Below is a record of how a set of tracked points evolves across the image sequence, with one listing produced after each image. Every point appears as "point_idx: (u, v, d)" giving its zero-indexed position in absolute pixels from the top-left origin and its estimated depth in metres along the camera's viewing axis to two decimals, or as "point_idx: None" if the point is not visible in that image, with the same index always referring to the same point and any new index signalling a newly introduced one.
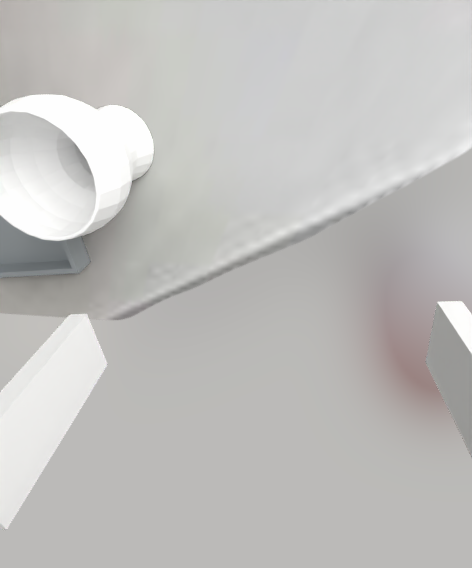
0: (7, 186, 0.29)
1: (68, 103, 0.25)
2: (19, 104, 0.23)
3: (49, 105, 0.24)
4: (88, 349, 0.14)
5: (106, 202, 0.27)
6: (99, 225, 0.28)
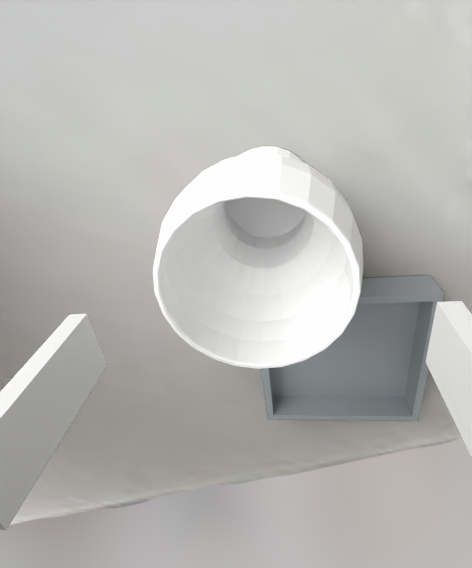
0: (277, 336, 0.21)
1: (163, 221, 0.18)
2: None
3: None
4: (88, 349, 0.14)
5: (300, 188, 0.14)
6: (346, 216, 0.15)
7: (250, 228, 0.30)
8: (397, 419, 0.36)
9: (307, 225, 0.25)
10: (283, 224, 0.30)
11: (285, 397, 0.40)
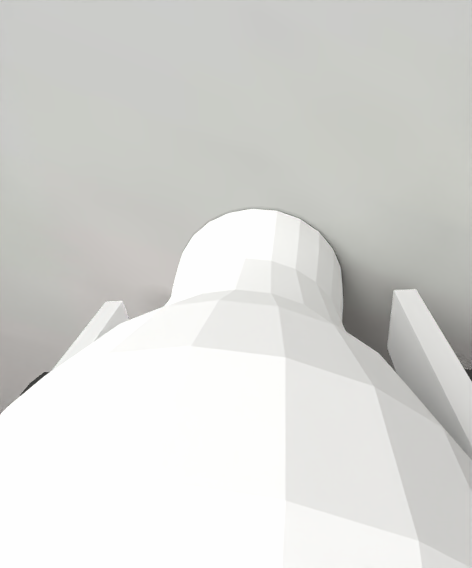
0: None
1: None
2: None
3: None
4: None
5: None
6: None
7: None
8: None
9: None
10: None
11: None
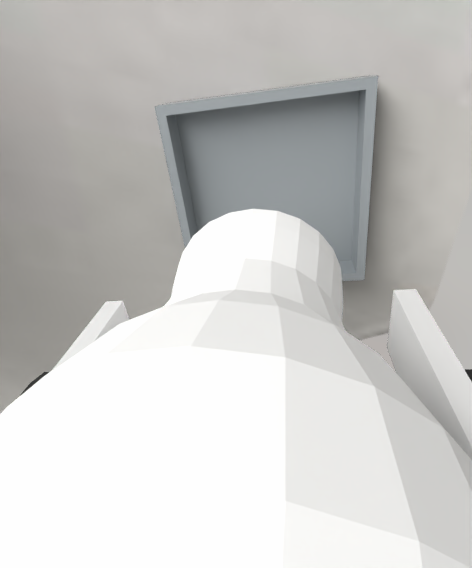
0: None
1: None
2: None
3: None
4: None
5: None
6: None
7: None
8: None
9: None
10: None
11: None
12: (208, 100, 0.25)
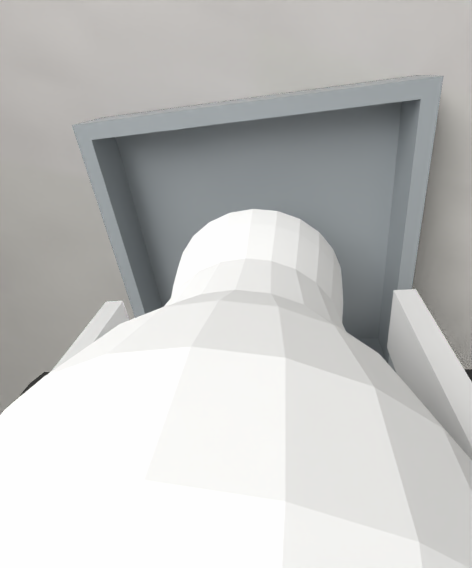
0: None
1: None
2: None
3: None
4: None
5: None
6: None
7: None
8: None
9: None
10: None
11: None
12: (157, 116, 0.15)
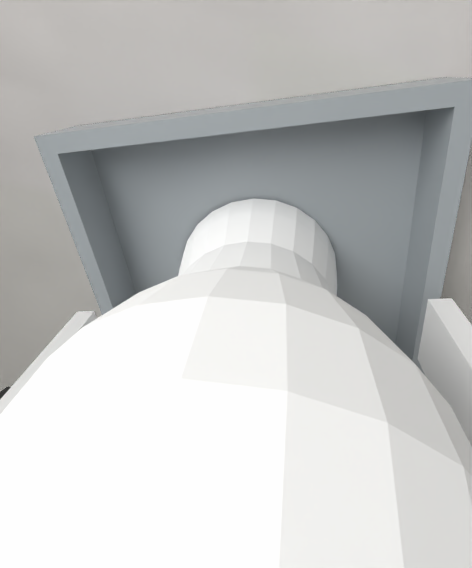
0: None
1: None
2: None
3: None
4: None
5: None
6: None
7: None
8: None
9: None
10: None
11: None
12: (134, 126, 0.13)
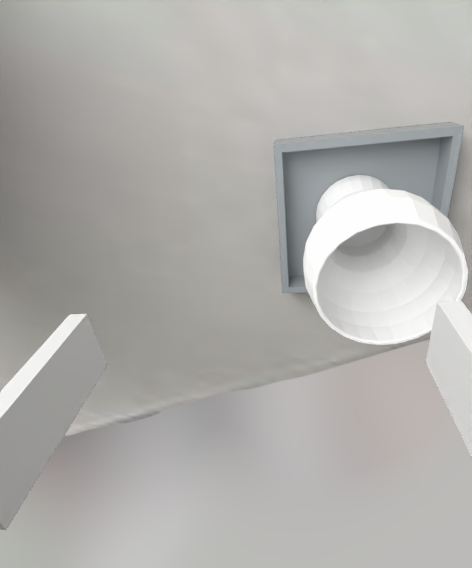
0: (383, 323, 0.28)
1: (314, 235, 0.25)
2: (310, 278, 0.24)
3: (314, 252, 0.24)
4: (88, 349, 0.14)
5: (430, 217, 0.21)
6: (457, 236, 0.22)
7: None
8: None
9: (396, 239, 0.31)
10: (367, 237, 0.36)
11: (301, 276, 0.40)
12: (319, 141, 0.31)
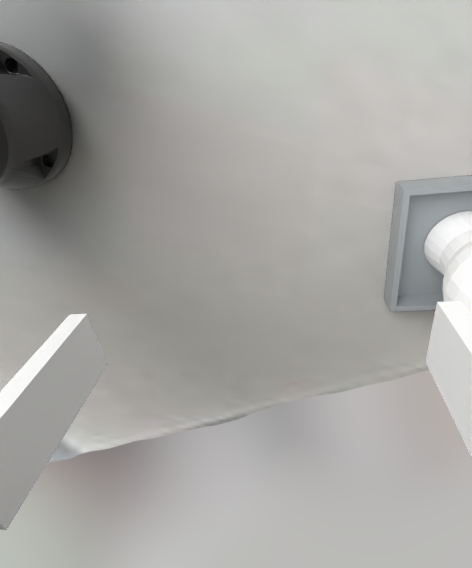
0: None
1: (468, 275, 0.30)
2: (469, 310, 0.29)
3: None
4: (88, 349, 0.14)
5: None
6: None
7: None
8: None
9: None
10: None
11: (402, 295, 0.46)
12: (445, 186, 0.36)
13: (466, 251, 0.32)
